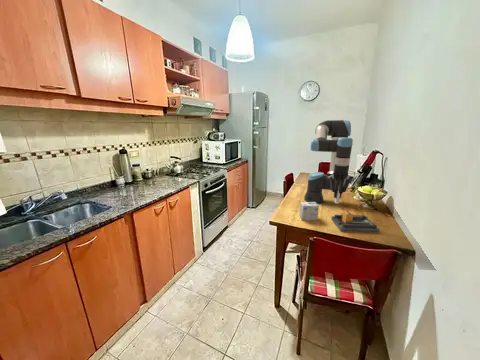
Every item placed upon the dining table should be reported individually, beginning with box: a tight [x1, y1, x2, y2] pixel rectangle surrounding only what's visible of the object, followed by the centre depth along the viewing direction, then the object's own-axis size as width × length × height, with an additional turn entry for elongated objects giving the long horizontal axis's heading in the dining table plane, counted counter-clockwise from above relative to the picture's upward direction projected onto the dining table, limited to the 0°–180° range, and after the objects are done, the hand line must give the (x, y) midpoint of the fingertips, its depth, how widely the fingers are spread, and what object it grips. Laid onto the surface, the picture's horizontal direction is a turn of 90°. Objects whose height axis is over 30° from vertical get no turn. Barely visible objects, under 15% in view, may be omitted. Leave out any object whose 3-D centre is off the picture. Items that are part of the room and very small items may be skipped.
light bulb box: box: [298, 201, 320, 221], centre depth 134 cm, size 11×7×11 cm, turn 92°
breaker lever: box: [342, 210, 354, 223], centre depth 125 cm, size 5×4×7 cm
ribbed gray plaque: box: [333, 214, 378, 228], centre depth 125 cm, size 14×20×2 cm
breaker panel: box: [331, 215, 381, 234], centre depth 125 cm, size 15×22×4 cm
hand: (336, 202), depth 122 cm, fingers closed
